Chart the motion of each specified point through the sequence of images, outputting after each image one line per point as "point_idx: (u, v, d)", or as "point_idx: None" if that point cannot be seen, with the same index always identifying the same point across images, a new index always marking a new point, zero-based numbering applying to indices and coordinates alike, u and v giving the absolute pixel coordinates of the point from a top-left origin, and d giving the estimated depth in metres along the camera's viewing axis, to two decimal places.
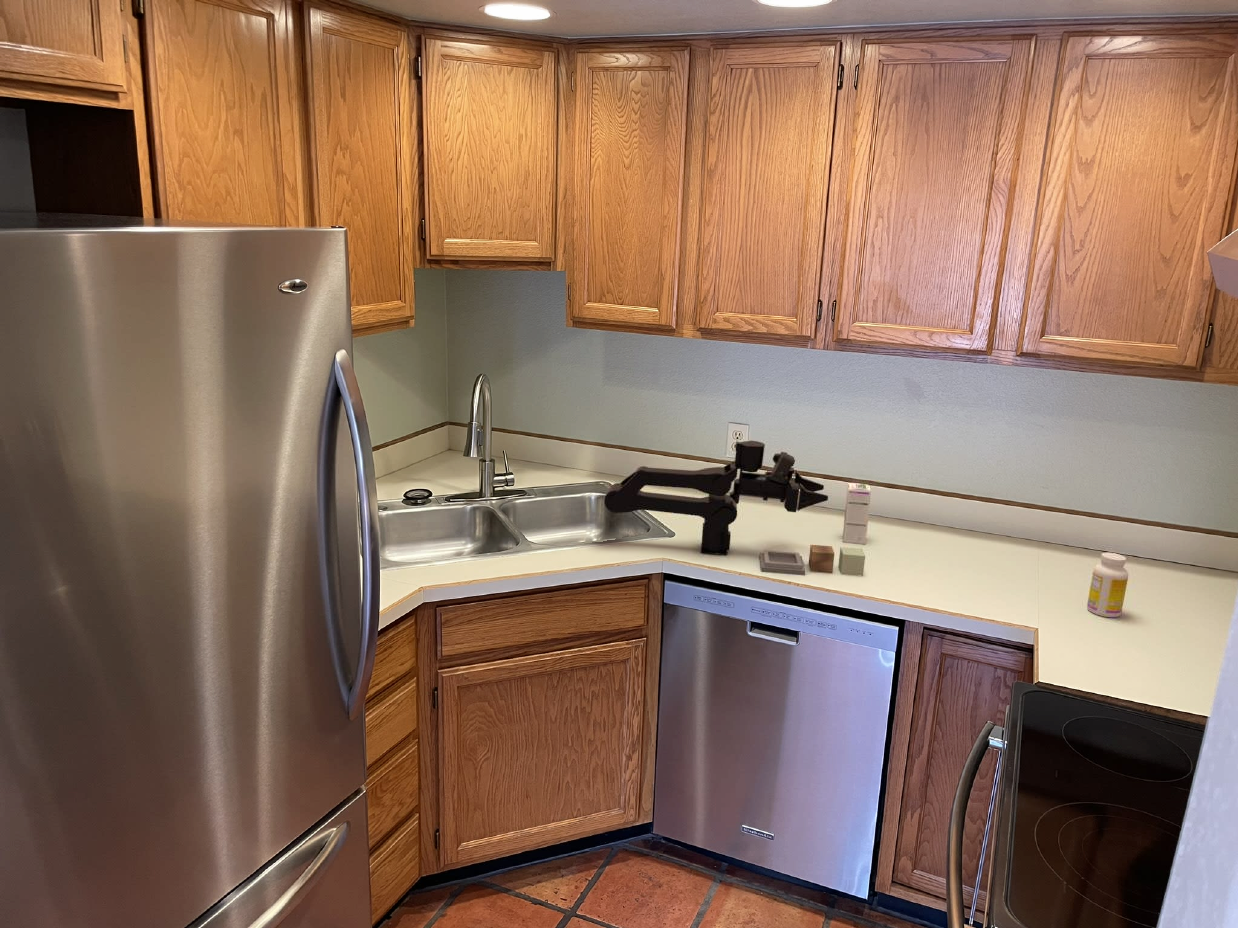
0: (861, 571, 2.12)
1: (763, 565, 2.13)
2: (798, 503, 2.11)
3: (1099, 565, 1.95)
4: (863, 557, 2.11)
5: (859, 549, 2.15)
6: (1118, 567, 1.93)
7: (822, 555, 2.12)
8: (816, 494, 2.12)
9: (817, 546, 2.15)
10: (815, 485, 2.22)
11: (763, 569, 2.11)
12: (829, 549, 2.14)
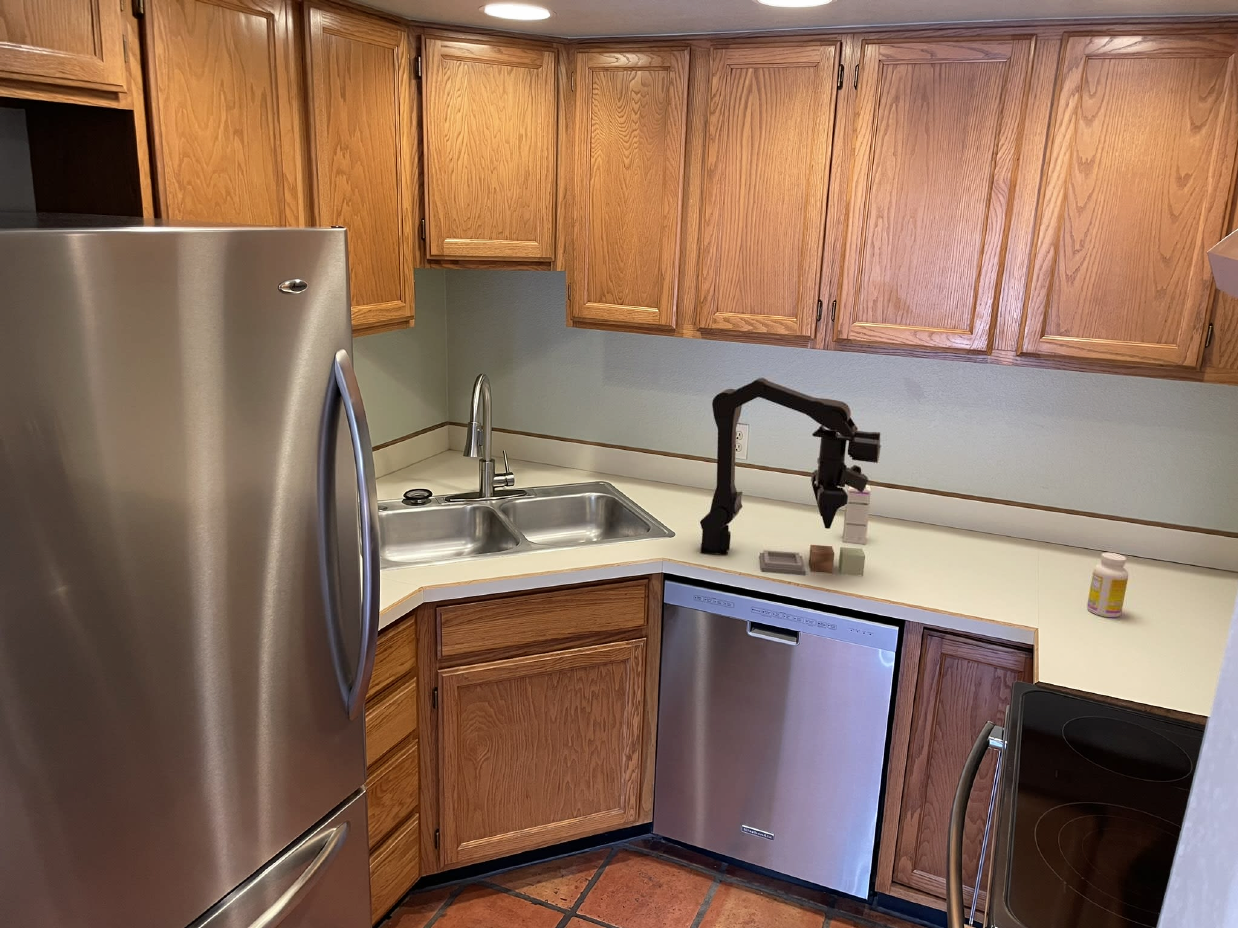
0: (861, 571, 2.12)
1: (763, 565, 2.13)
2: (827, 503, 2.03)
3: (1099, 565, 1.95)
4: (863, 557, 2.11)
5: (859, 549, 2.15)
6: (1118, 567, 1.93)
7: (822, 555, 2.12)
8: (832, 518, 2.06)
9: (817, 546, 2.15)
10: None
11: (763, 569, 2.11)
12: (829, 549, 2.14)
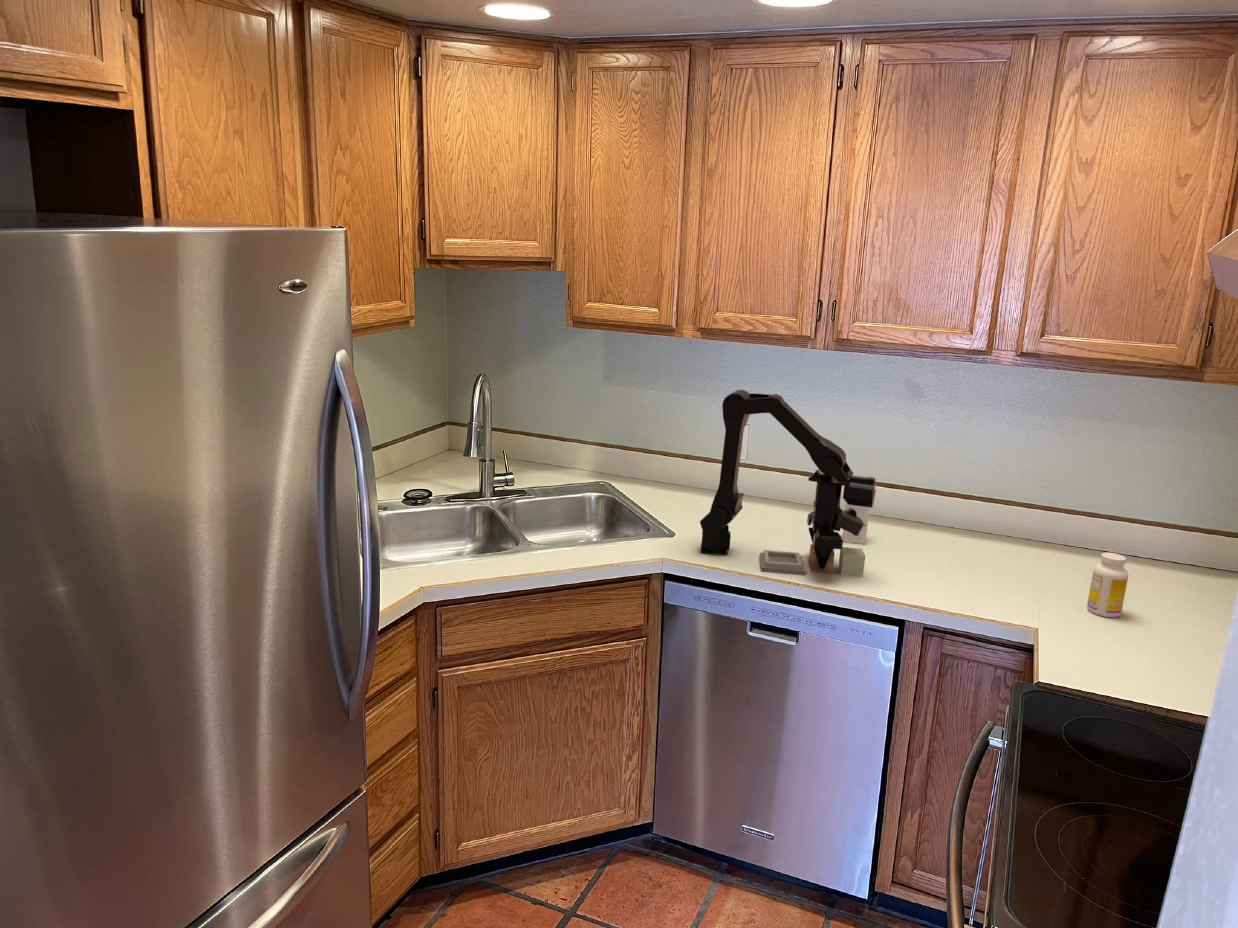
0: (861, 571, 2.12)
1: (763, 565, 2.13)
2: None
3: (1099, 565, 1.95)
4: (863, 557, 2.11)
5: (859, 549, 2.15)
6: (1118, 567, 1.93)
7: None
8: (827, 559, 2.11)
9: None
10: None
11: (763, 569, 2.11)
12: None
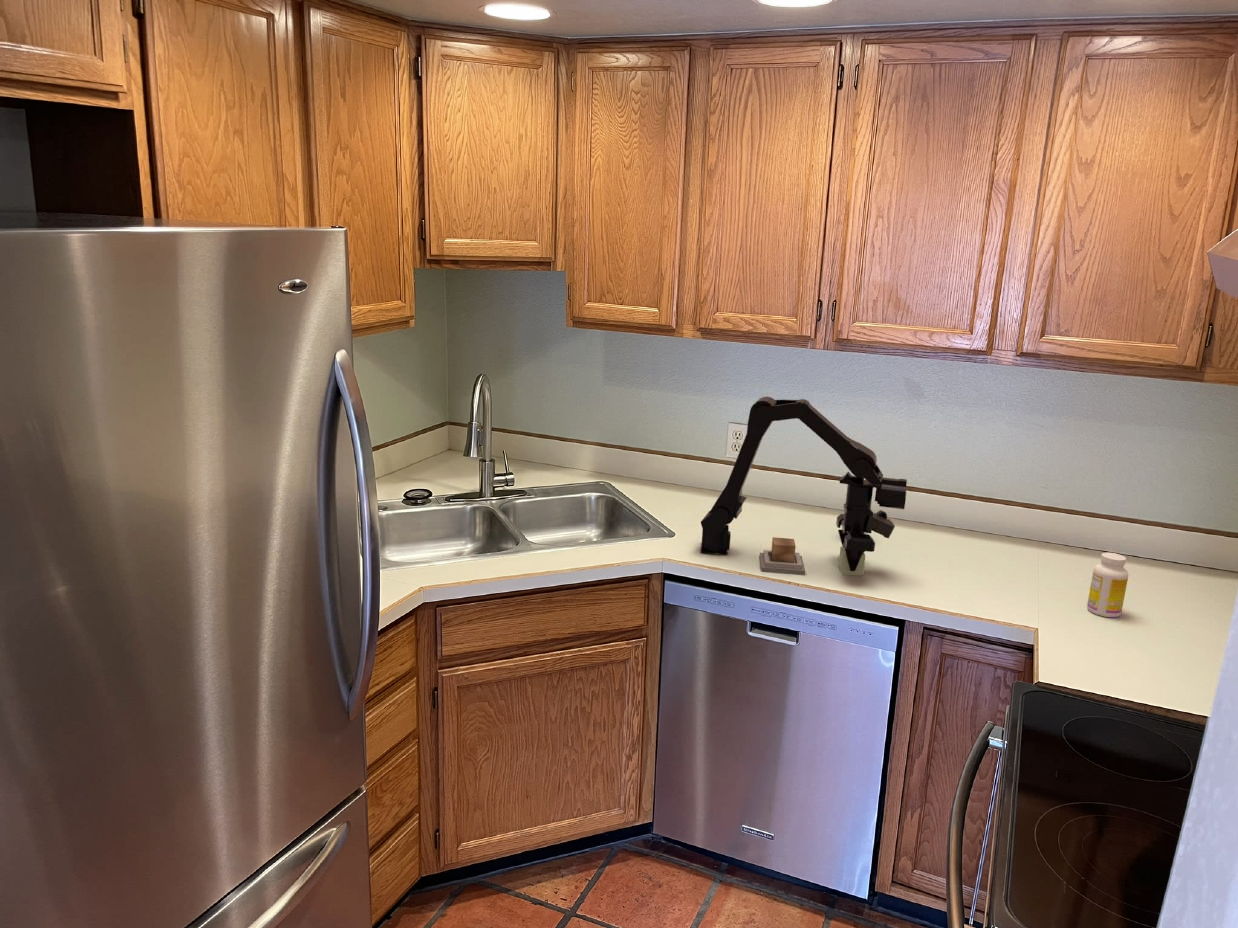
0: (861, 571, 2.12)
1: (763, 565, 2.13)
2: None
3: (1099, 565, 1.95)
4: (863, 557, 2.11)
5: None
6: (1118, 567, 1.93)
7: (783, 547, 2.12)
8: (857, 561, 2.10)
9: (779, 539, 2.16)
10: None
11: (763, 569, 2.11)
12: (791, 541, 2.14)
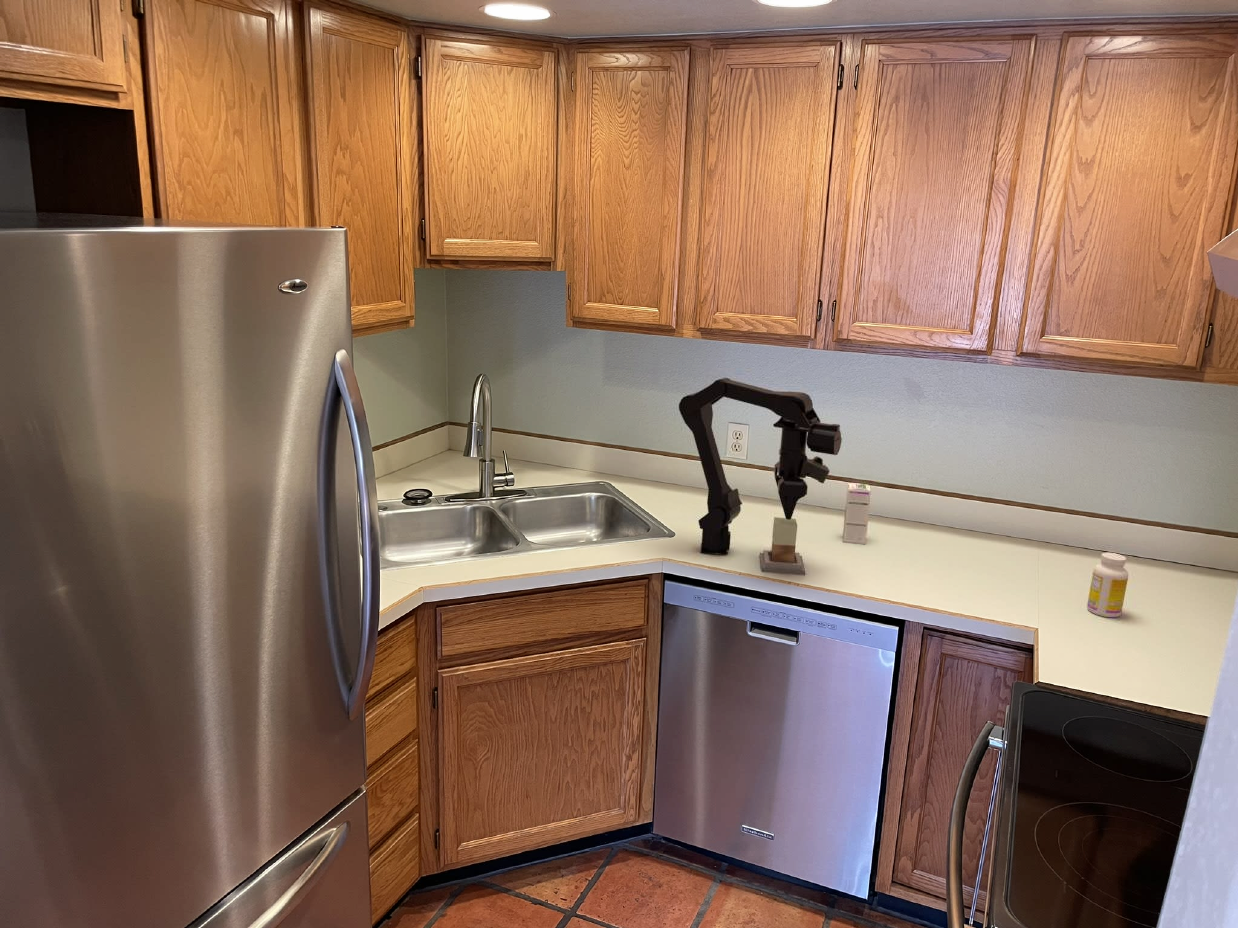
0: (793, 541, 2.12)
1: (763, 565, 2.13)
2: (787, 494, 2.03)
3: (1099, 565, 1.95)
4: (795, 526, 2.11)
5: (792, 519, 2.15)
6: (1118, 567, 1.93)
7: (783, 547, 2.12)
8: (793, 509, 2.07)
9: None
10: None
11: (763, 569, 2.11)
12: None
